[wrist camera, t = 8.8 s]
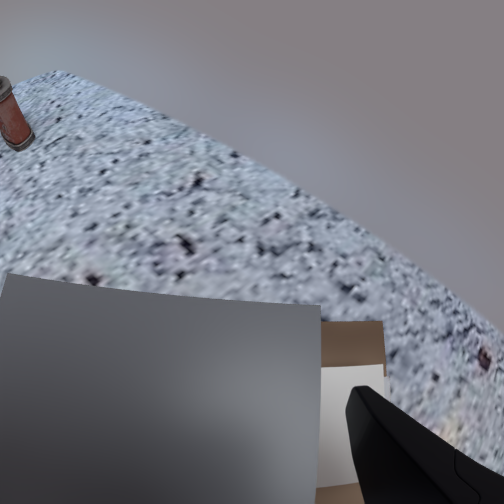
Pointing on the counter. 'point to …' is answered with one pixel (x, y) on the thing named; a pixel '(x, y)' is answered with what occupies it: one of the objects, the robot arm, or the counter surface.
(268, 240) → the counter surface
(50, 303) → the block
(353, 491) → the board
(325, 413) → the terminal blocks
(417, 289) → the counter surface
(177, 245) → the counter surface
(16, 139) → the lighter
